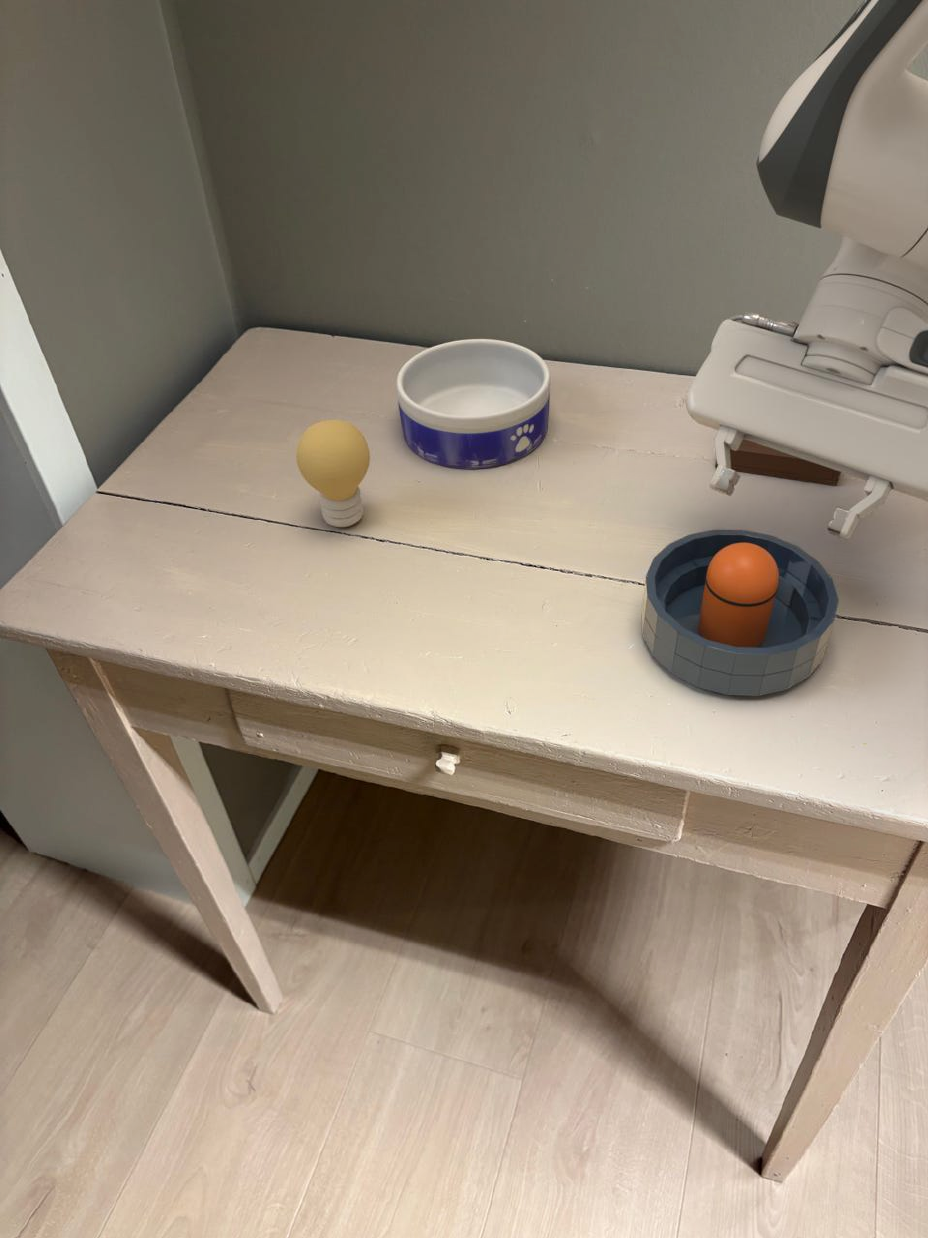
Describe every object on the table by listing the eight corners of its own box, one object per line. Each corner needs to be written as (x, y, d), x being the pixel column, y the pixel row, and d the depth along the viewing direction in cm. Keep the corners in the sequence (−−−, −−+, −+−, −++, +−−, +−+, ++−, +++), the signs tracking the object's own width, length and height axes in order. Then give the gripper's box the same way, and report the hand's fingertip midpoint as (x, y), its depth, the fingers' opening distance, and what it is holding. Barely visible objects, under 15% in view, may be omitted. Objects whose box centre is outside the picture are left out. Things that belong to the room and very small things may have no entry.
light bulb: (310, 501, 91) (292, 409, 84) (377, 495, 91) (365, 403, 84) (308, 543, 86) (289, 450, 80) (379, 537, 87) (365, 443, 80)
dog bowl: (491, 488, 91) (489, 434, 87) (370, 439, 98) (363, 387, 94) (578, 415, 100) (580, 363, 95) (461, 375, 107) (458, 324, 102)
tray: (844, 422, 96) (849, 401, 95) (837, 486, 89) (843, 464, 87) (730, 407, 99) (734, 386, 98) (714, 467, 92) (718, 446, 90)
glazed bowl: (862, 651, 74) (879, 604, 70) (724, 729, 69) (734, 682, 65) (736, 554, 83) (745, 508, 79) (605, 617, 78) (609, 571, 74)
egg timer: (781, 635, 75) (801, 556, 69) (729, 662, 73) (746, 584, 67) (734, 597, 78) (749, 519, 72) (683, 622, 76) (695, 544, 71)
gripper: (720, 288, 73) (643, 457, 74) (1002, 363, 63) (908, 555, 65) (738, 320, 78) (666, 476, 80) (1000, 393, 69) (913, 569, 70)
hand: (776, 512), depth 72 cm, fingers open, 8 cm apart
